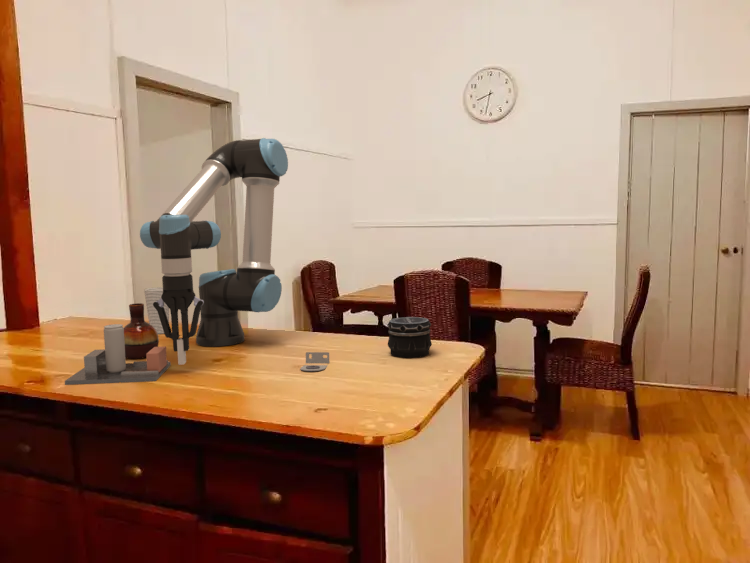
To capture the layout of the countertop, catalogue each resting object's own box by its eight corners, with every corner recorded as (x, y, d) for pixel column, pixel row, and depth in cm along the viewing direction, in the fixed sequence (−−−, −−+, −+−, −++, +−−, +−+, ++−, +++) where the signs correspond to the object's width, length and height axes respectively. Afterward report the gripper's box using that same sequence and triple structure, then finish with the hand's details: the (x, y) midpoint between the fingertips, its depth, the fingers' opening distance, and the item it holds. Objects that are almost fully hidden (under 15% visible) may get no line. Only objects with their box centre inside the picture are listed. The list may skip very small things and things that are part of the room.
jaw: (166, 364, 170) (165, 346, 170) (159, 372, 162) (158, 353, 162) (155, 365, 170) (154, 346, 169) (147, 372, 162) (146, 353, 161)
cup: (147, 331, 223) (144, 288, 222) (172, 329, 226) (170, 286, 224) (146, 336, 215) (143, 291, 214) (172, 334, 218) (169, 289, 216)
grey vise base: (170, 365, 174) (169, 343, 174) (155, 381, 158) (154, 357, 158) (88, 368, 173) (87, 346, 172) (64, 384, 157) (63, 361, 156)
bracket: (298, 373, 164) (297, 360, 164) (306, 364, 174) (305, 352, 174) (322, 374, 164) (322, 360, 163) (329, 364, 174) (329, 352, 173)
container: (379, 352, 185) (379, 318, 184) (417, 347, 191) (417, 314, 190) (401, 361, 174) (400, 325, 173) (440, 355, 180) (440, 321, 179)
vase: (167, 352, 190) (164, 301, 188) (144, 361, 179) (140, 307, 178) (135, 351, 193) (132, 301, 191) (111, 359, 182) (107, 306, 181)
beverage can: (120, 367, 169) (117, 323, 167) (129, 370, 166) (126, 325, 164) (103, 371, 165) (99, 326, 164) (112, 374, 162) (109, 328, 161)
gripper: (205, 272, 168) (209, 358, 171) (155, 273, 167) (160, 360, 170) (200, 275, 161) (204, 365, 163) (147, 276, 159) (153, 367, 162)
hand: (182, 363), depth 167 cm, fingers closed
